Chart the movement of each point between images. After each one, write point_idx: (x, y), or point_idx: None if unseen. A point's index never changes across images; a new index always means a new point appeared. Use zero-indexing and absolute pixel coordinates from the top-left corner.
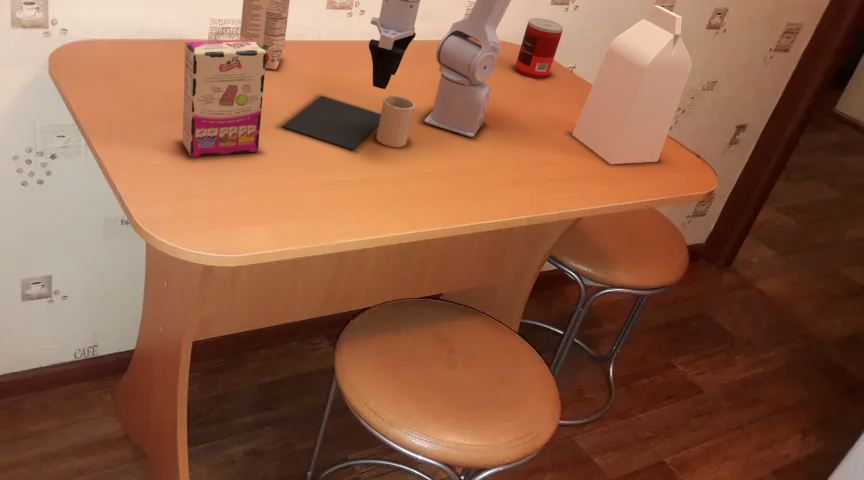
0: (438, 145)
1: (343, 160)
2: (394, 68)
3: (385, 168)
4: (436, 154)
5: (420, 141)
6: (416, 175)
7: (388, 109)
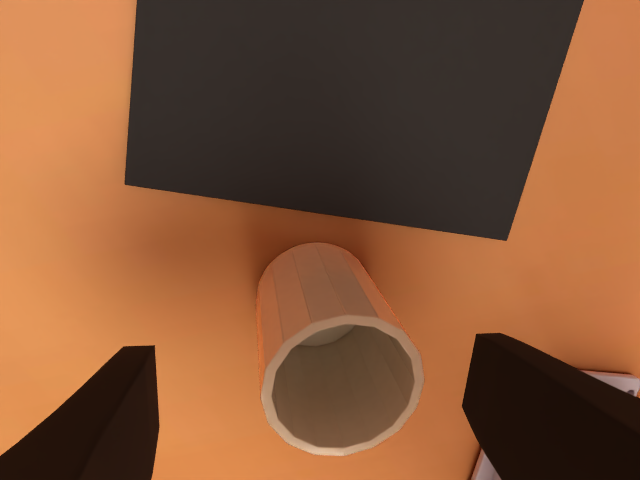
0: None
1: (9, 167)
2: (486, 433)
3: (60, 325)
4: None
5: None
6: None
7: (273, 344)
